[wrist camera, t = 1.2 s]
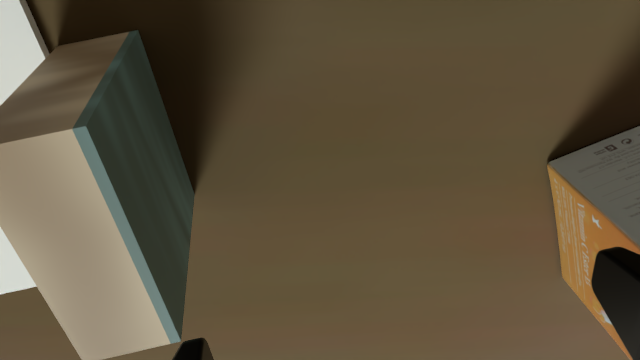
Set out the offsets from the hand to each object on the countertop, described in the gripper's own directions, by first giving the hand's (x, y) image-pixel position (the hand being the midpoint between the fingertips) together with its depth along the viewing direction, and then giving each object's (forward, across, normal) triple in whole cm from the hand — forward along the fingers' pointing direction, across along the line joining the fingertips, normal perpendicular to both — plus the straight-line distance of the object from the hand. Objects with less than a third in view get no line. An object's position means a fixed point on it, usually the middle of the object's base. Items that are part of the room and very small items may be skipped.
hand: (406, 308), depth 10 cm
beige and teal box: (+12, +7, 0) cm, 14 cm away
